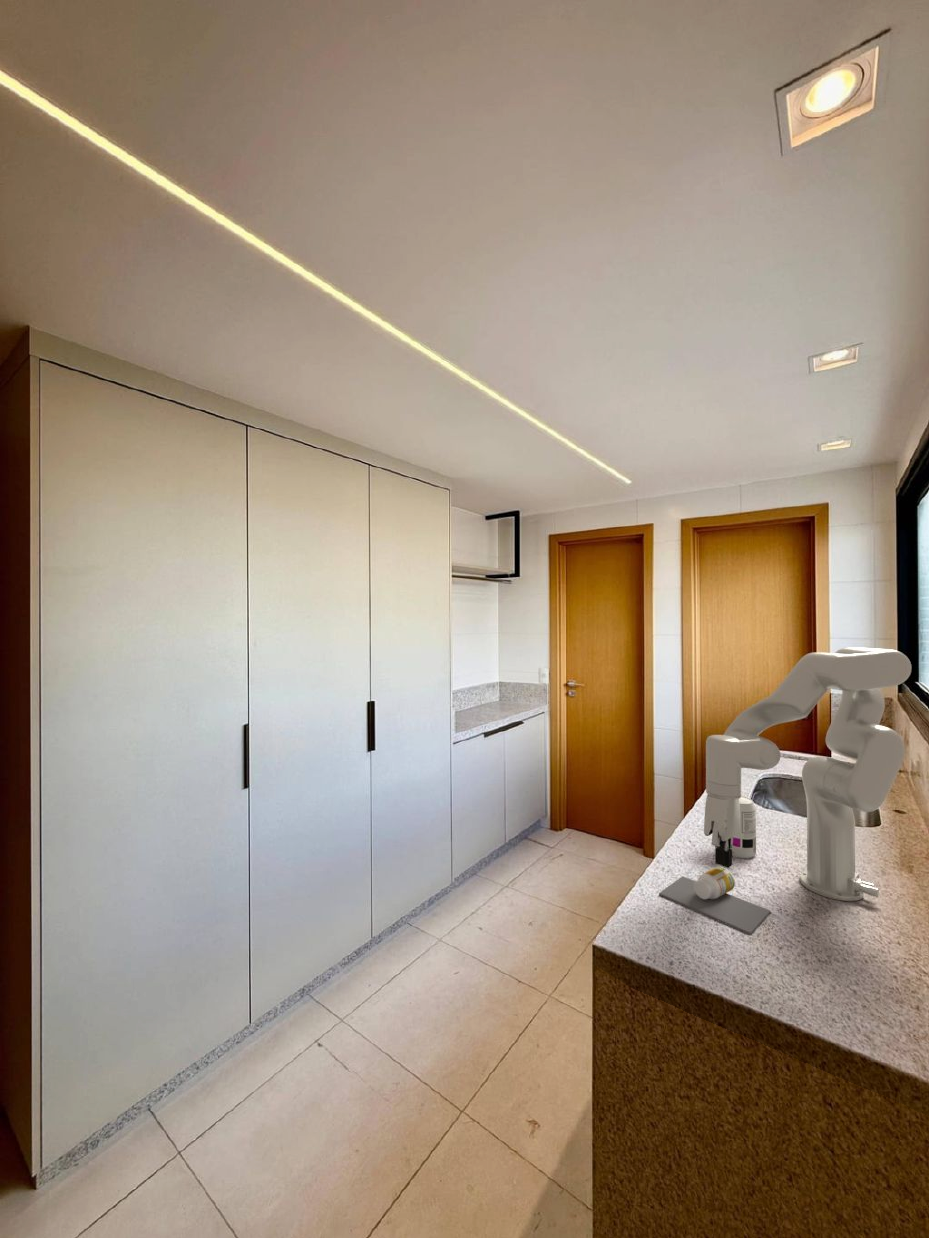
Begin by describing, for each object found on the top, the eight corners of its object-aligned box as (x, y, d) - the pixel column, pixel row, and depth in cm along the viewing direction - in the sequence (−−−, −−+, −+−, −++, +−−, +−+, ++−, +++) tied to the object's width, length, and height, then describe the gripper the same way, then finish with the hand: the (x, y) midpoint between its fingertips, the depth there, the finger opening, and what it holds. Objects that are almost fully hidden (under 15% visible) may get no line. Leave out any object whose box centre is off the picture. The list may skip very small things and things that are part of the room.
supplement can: (724, 856, 138) (724, 802, 138) (721, 844, 145) (721, 792, 145) (758, 861, 135) (758, 806, 135) (753, 848, 142) (753, 796, 142)
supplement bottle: (710, 876, 123) (686, 887, 117) (719, 861, 121) (696, 872, 115) (729, 895, 119) (706, 908, 113) (739, 880, 117) (716, 892, 111)
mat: (770, 912, 111) (770, 910, 111) (750, 935, 103) (750, 932, 103) (682, 878, 126) (682, 876, 126) (659, 895, 118) (659, 892, 118)
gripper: (720, 777, 126) (720, 849, 126) (693, 791, 117) (693, 869, 116) (752, 785, 121) (752, 860, 121) (727, 799, 111) (727, 881, 111)
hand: (723, 864), depth 118 cm, fingers closed
